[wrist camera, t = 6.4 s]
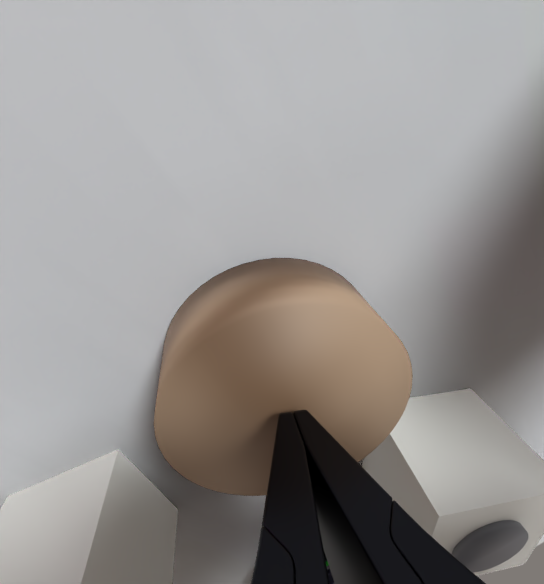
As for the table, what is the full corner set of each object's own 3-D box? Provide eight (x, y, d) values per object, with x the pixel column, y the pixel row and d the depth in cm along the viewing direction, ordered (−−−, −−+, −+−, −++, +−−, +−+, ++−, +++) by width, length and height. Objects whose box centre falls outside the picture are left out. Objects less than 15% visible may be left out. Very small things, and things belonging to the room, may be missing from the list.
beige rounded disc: (341, 218, 11) (388, 253, 8) (386, 379, 15) (426, 436, 12) (115, 319, 11) (90, 386, 8) (222, 450, 15) (228, 522, 12)
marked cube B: (118, 447, 14) (72, 613, 9) (178, 507, 16) (166, 663, 11) (8, 494, 14) (-94, 682, 9) (83, 547, 16) (34, 718, 11)
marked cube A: (469, 387, 16) (578, 495, 11) (446, 457, 18) (529, 571, 13) (371, 402, 15) (443, 524, 10) (360, 473, 17) (415, 599, 13)
